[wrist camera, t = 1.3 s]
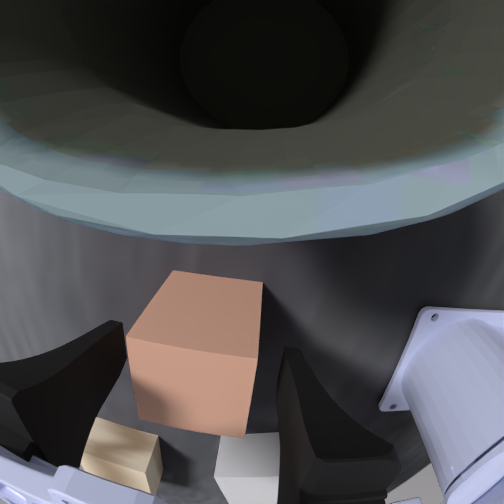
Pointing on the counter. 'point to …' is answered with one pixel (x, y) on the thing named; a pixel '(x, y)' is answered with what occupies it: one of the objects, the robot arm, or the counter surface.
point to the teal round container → (251, 114)
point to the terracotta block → (197, 353)
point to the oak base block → (123, 456)
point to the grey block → (249, 468)
